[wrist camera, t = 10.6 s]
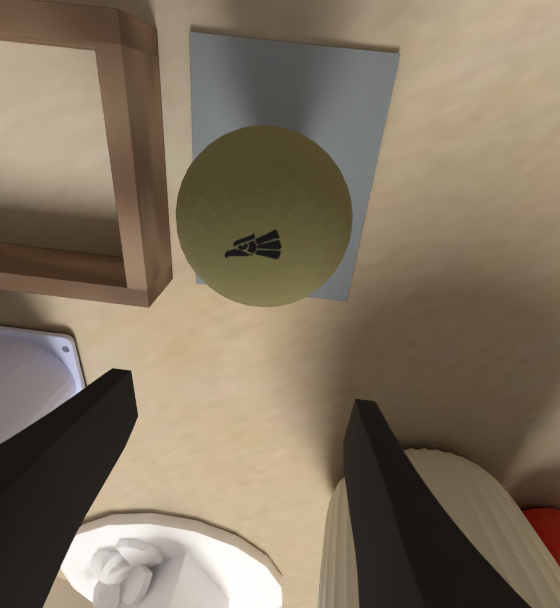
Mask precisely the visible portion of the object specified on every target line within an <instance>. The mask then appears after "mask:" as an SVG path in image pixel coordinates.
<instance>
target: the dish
mask: <svg viewBox="0 0 560 608" xmlns="http://www.w3.org/2000/svg"><path fill="white" fill-rule="evenodd" d="M61 570H62V571H63V573H64V574H65V576H66V578H67V579H68V581H69V582H70V584H71V585H72V587H73V588H74V589H76V590H77V591H78V592H80V593H81V594H82V595H83V596H85V597H86V598H87V599H89V600H90V601H91V602H92V603H93V606H94V608H280V607H281V606H282V576H281V574H280V573H279V572H278V570H277V569H276V567H275V566H274V565H273V563H272V562H271V561H270V559H269V558H268V556H267V555H265V554H264V553H262V552H261V551H259V550H258V549H256V548H255V547H253V546H252V545H251V544H249V543H248V542H246V541H245V540H243V539H242V538H240V537H239V536H237V535H234V534H232V533H229V532H226V531H224V530H221V529H218V528H216V527H213V526H211V525H208V524H205V523H203V522H200V521H197V520H191V519H186V518H180V517H174V516H168V515H162V514H157V513H138V514H113V515H109V516H106V517H103V518H100V519H97V520H94V521H91V522H88V523H85V524H83V525H82V526H81V527H80V528H79V529H78V531H77V533H76V535H75V537H74V539H73V541H72V543H71V546H70V548H69V550H68V552H67V554H66V556H65V558H64V561H63V563H62V565H61Z"/></svg>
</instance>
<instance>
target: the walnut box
mask: <svg viewBox="0 0 560 608" xmlns="http://www.w3.org/2000/svg"><path fill="white" fill-rule="evenodd" d="M0 40H1V41H11V42H20V43H29V44H39V45H48V46H58V47H67V48H77V49H86V50H95V54H96V61H97V68H98V76H99V83H100V90H101V98H102V105H103V112H104V120H105V127H106V134H107V142H108V149H109V156H110V163H111V171H112V178H113V185H114V193H115V200H116V207H117V215H118V222H119V229H120V237H121V244H122V251H123V258H121V257H113V256H104V255H96V254H88V253H79V252H71V251H63V250H54V249H46V248H38V247H29V246H21V245H13V244H4V243H0V289H2V290H10V291H18V292H26V293H34V294H42V295H50V296H58V297H67V298H75V299H83V300H91V301H99V302H107V303H115V304H123V305H131V306H140V307H148V308H149V307H150V306H151V305H152V303H153V302H154V301H155V300H156V298H157V297H158V296H159V295H160V294H161V292H162V291H163V290H164V289H165V288H166V286H167V285H168V284H169V283H170V281H171V280H172V279H173V277H172V262H171V246H170V230H169V215H168V199H167V183H166V168H165V152H164V137H163V121H162V105H161V90H160V74H159V58H158V43H157V29H155V28H153V27H152V26H150V25H148V24H146V23H144V22H142V21H140V20H138V19H136V18H134V17H132V16H130V15H128V14H127V13H125V12H123V11H121V10H119V9H115V8H106V7H96V6H86V5H76V4H67V3H57V2H47V1H38V0H0Z"/></svg>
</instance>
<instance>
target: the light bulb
mask: <svg viewBox="0 0 560 608" xmlns="http://www.w3.org/2000/svg"><path fill="white" fill-rule="evenodd" d="M352 220H353V212H352V202H351V197H350V193H349V190H348V186H347V184H346V182H345V179H344V177H343V175H342V173H341V171H340V169H339V167H338V166H337V165H336V163H335V162H334V161H333V159H332V158H331V157H330V155H329V154H328V153H327V152H326V151H324V150H323V149H322V148H321V147H320V146H319V145H318V144H317V143H315V142H314V141H313V140H311V139H309V138H308V137H306V136H304V135H302V134H300V133H298V132H296V131H293V130H290V129H286V128H281V127H276V126H271V125H264V126H249V127H243V128H240V129H237V130H235V131H232V132H229V133H227V134H224V135H223V136H221V137H219V138H218V139H216V140H215V141H213V142H212V143H210V144H209V145H208V146H207V147H206V148H205V149H204V150H203V151H202V152H201V153H200V154H199V155H198V156H197V157H196V158H195V160H194V161H193V162H192V164H191V165H190V167H189V168H188V170H187V172H186V174H185V176H184V178H183V181H182V183H181V187H180V190H179V193H178V198H177V206H176V222H177V234H178V237H179V241H180V245H181V248H182V250H183V252H184V255H185V257H186V259H187V261H188V263H189V264H190V266H191V267H192V268H193V270H194V271H195V273H196V274H197V275H198V276H199V277H200V278H201V279H202V280H203V281H204V282H205V283H206V284H207V285H208V286H209V287H210V288H212V289H213V290H215V291H216V292H217V293H219V294H220V295H222V296H224V297H226V298H228V299H230V300H232V301H234V302H238V303H241V304H245V305H249V306H258V307H274V306H282V305H286V304H290V303H294V302H296V301H298V300H300V299H303V298H305V297H307V296H309V295H310V294H311V293H313V292H314V291H316V290H317V289H318V288H320V287H321V286H322V285H323V284H324V283H325V282H326V281H327V280H328V279H329V278H330V277H331V276H332V275H333V274H334V272H335V271H336V269H337V267H338V266H339V264H340V263H341V261H342V259H343V257H344V255H345V252H346V250H347V247H348V244H349V241H350V237H351V232H352Z"/></svg>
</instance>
